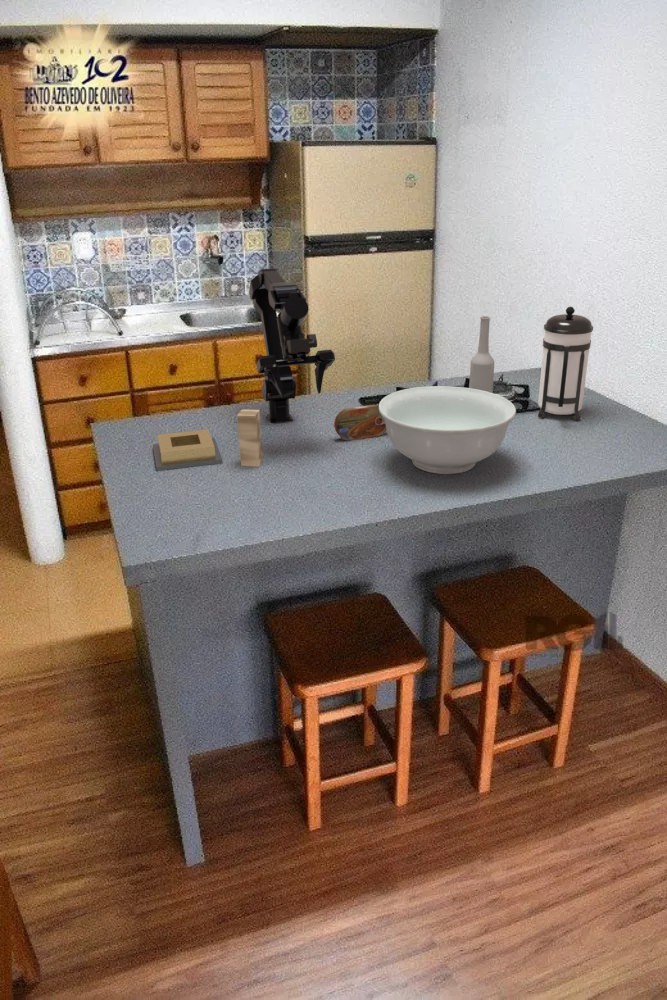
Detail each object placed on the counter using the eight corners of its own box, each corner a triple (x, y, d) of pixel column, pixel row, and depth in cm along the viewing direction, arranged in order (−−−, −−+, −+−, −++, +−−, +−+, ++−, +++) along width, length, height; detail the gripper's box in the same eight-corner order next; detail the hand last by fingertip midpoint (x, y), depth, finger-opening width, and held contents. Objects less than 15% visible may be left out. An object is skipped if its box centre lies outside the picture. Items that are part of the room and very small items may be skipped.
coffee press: (518, 410, 223) (527, 305, 210) (562, 402, 229) (573, 299, 216) (558, 429, 208) (570, 316, 196) (604, 419, 214) (619, 310, 202)
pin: (245, 459, 194) (241, 409, 188) (262, 459, 193) (259, 410, 188) (241, 466, 190) (237, 415, 184) (258, 466, 189) (255, 415, 184)
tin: (337, 442, 203) (336, 412, 199) (333, 438, 206) (332, 408, 202) (390, 435, 207) (390, 405, 204) (385, 431, 210) (386, 401, 206)
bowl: (540, 470, 184) (546, 411, 178) (429, 501, 170) (431, 438, 163) (456, 430, 209) (458, 377, 203) (353, 454, 195) (352, 398, 189)
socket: (153, 447, 202) (151, 433, 200) (214, 441, 206) (213, 426, 204) (156, 470, 188) (154, 455, 186) (222, 463, 192) (221, 448, 190)
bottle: (465, 419, 217) (471, 318, 205) (469, 412, 223) (474, 313, 211) (489, 421, 215) (496, 320, 203) (492, 413, 221) (499, 314, 209)
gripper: (258, 325, 182) (268, 389, 180) (334, 319, 186) (345, 381, 185) (252, 341, 193) (262, 402, 191) (324, 335, 197) (335, 394, 195)
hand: (301, 395), depth 190 cm, fingers open, 9 cm apart
